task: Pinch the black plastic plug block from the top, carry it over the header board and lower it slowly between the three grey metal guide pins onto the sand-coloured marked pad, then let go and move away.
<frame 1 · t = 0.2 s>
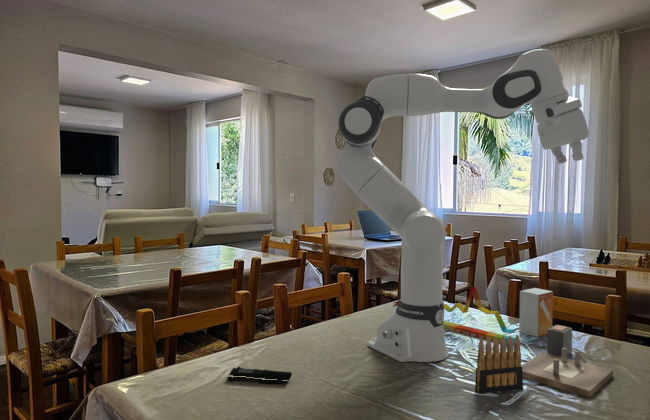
hand: (570, 161, 113), 51 cm above the table, tool tilted 20°, fingers open, 8 cm apart
small box: (535, 333, 137), on the table
ammunition clip: (499, 390, 98), on the table
header board: (563, 375, 105), on the table
plug block: (559, 354, 119), on the table
electric trimmer: (259, 382, 104), on the table
chart: (464, 334, 137), on the table
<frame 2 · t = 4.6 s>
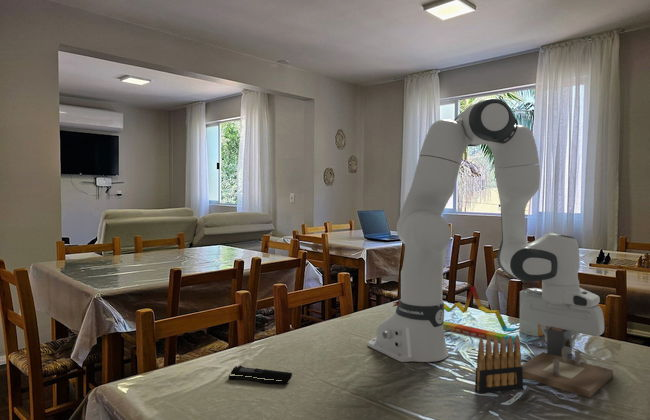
hand: (559, 344, 119), 3 cm above the table, tool pointing down, fingers closed on plug block, 4 cm apart
plug block: (559, 354, 119), on the table, touching gripper
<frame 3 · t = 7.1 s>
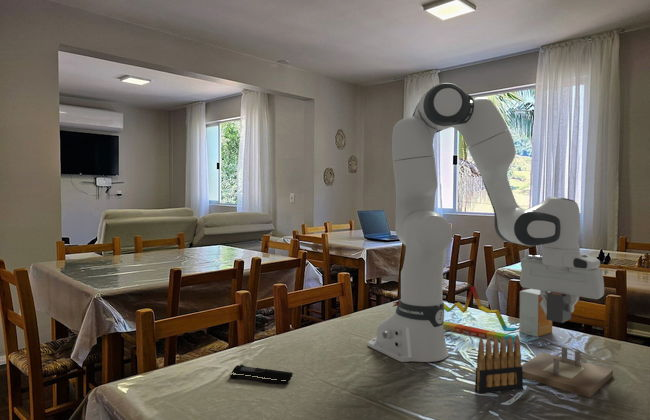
hand: (559, 309, 118), 12 cm above the table, tool pointing down, fingers closed on plug block, 4 cm apart
plug block: (558, 319, 118), point 9 cm above the table, touching gripper
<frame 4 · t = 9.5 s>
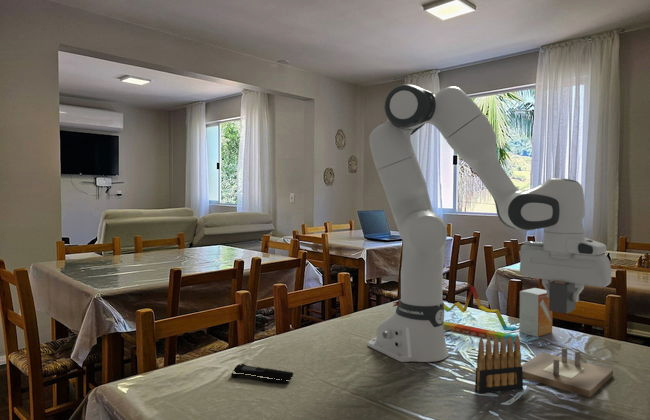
hand: (562, 299, 110), 17 cm above the table, tool pointing down, fingers closed on plug block, 4 cm apart
plug block: (562, 309, 110), point 14 cm above the table, touching gripper
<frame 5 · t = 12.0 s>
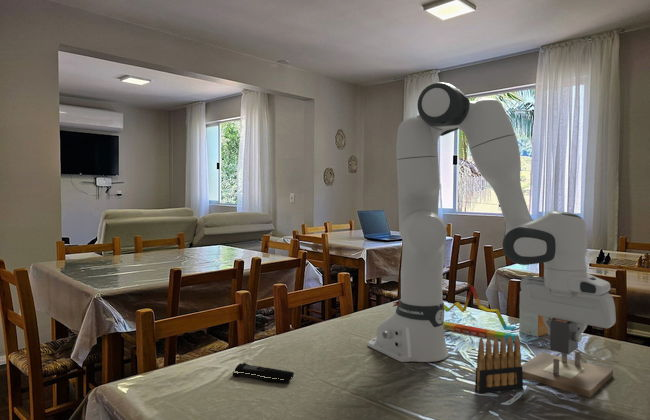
hand: (564, 338, 104), 9 cm above the table, tool pointing down, fingers closed on plug block, 4 cm apart
plug block: (564, 349, 105), point 6 cm above the table, touching gripper
when the fingers open (5 cm above the table, at t = 14.2 s): plug block stays where it is, resting on header board.
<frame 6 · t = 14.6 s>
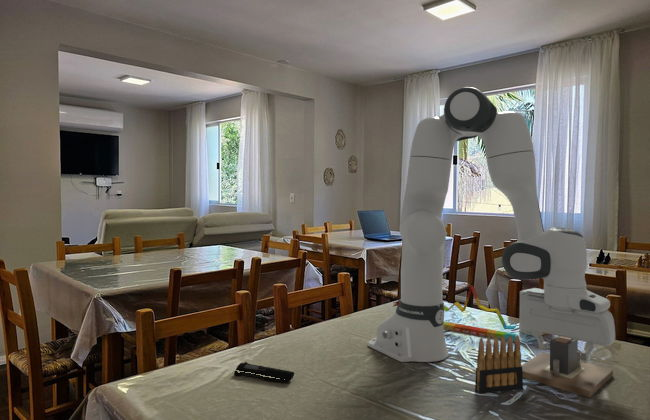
hand: (563, 354, 105), 5 cm above the table, tool pointing down, fingers open, 8 cm apart
plug block: (563, 369, 105), point 2 cm above the table, touching header board
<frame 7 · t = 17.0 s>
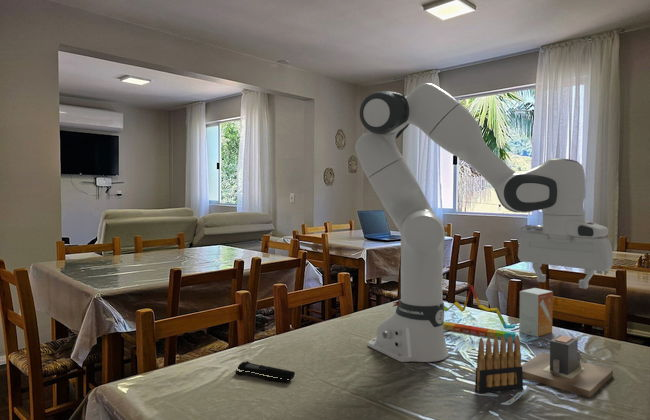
hand: (561, 284, 105), 22 cm above the table, tool pointing down, fingers open, 8 cm apart
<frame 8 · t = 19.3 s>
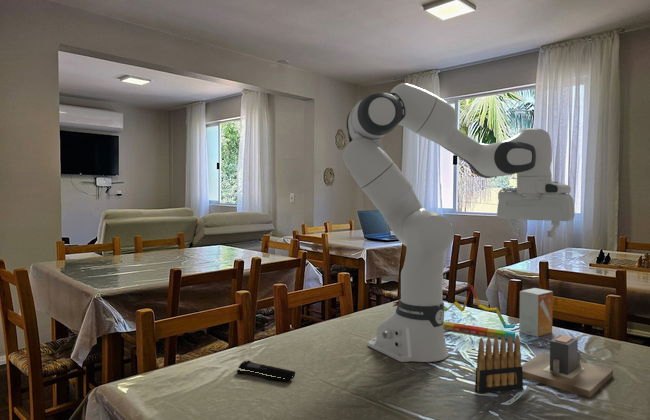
hand: (533, 236, 125), 31 cm above the table, tool pointing down, fingers open, 8 cm apart
at the end: plug block 0.0 cm off-centre on the header board, point 1.6 cm above the header board's base; plug block tilted 0°; the gripper is holding nothing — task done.
